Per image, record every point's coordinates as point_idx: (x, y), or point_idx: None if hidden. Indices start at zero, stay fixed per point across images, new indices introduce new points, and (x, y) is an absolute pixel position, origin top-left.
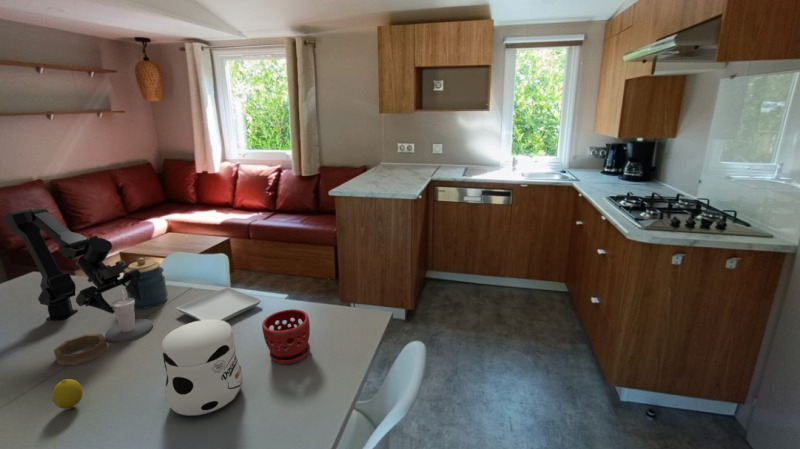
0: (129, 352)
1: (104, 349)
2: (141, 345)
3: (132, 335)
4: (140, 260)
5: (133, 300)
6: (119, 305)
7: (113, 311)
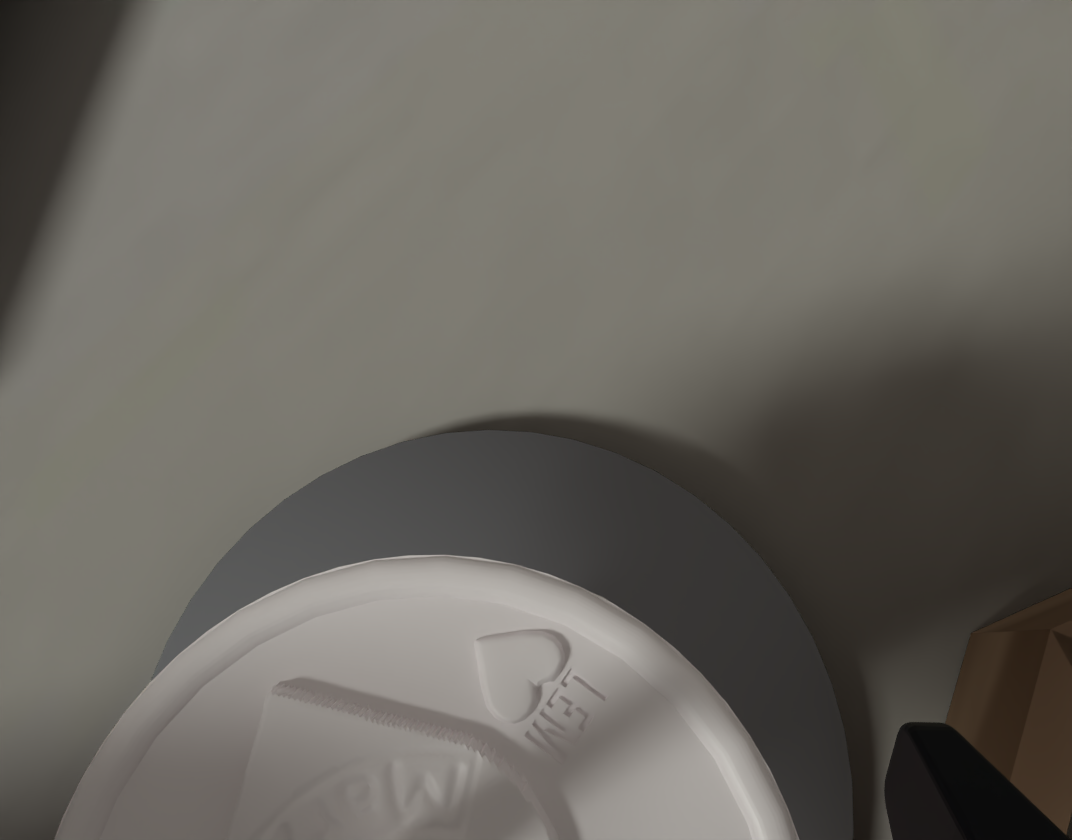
0: (908, 232)
1: (1052, 600)
2: (726, 232)
3: (637, 507)
4: None
5: (199, 657)
6: (663, 814)
7: (940, 731)
